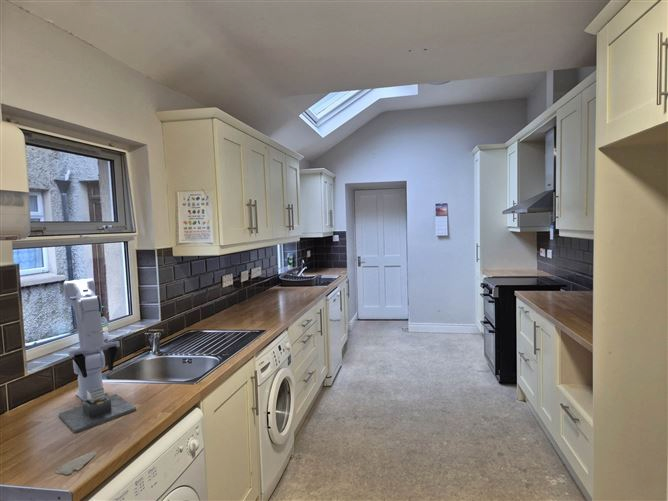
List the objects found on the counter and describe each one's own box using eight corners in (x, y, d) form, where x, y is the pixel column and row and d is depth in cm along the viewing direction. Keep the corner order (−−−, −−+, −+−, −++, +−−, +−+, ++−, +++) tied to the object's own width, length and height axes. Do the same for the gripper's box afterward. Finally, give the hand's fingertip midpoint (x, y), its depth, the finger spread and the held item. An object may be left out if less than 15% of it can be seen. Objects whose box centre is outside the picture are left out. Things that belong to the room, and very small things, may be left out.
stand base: (58, 416, 132) (57, 402, 132) (116, 396, 146) (115, 383, 145) (74, 433, 120) (73, 417, 120) (136, 410, 134) (134, 396, 133)
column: (88, 410, 133) (86, 389, 132) (101, 405, 136) (99, 385, 135) (92, 414, 130) (90, 392, 129) (106, 409, 133) (104, 388, 132)
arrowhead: (50, 466, 101) (84, 448, 110) (50, 474, 101) (84, 455, 110) (71, 470, 99) (104, 451, 109) (71, 477, 99) (104, 458, 108)
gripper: (70, 337, 123) (76, 380, 122) (120, 327, 134) (125, 367, 133) (64, 337, 128) (70, 380, 127) (113, 328, 139) (118, 367, 137)
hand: (98, 373), depth 130 cm, fingers open, 7 cm apart
